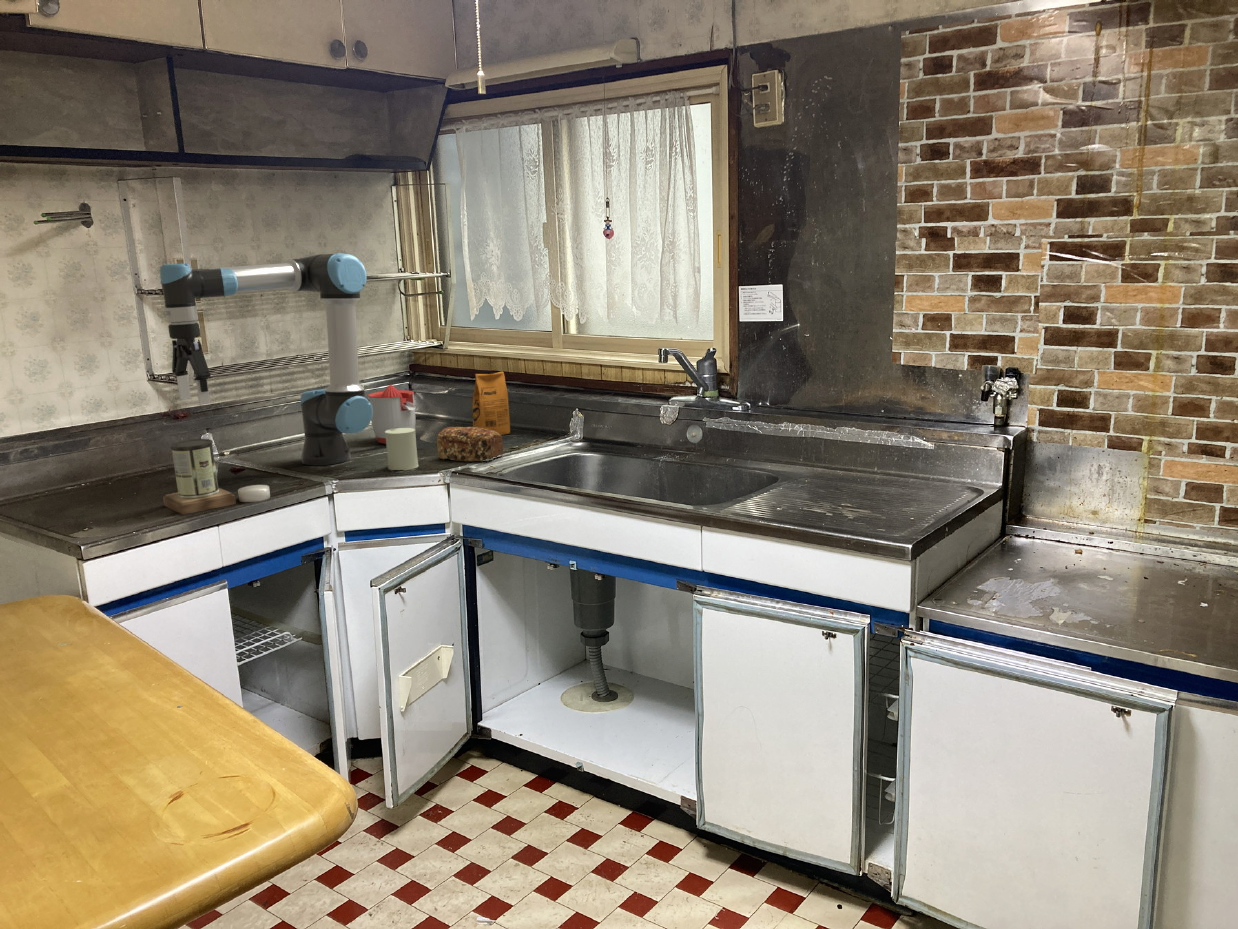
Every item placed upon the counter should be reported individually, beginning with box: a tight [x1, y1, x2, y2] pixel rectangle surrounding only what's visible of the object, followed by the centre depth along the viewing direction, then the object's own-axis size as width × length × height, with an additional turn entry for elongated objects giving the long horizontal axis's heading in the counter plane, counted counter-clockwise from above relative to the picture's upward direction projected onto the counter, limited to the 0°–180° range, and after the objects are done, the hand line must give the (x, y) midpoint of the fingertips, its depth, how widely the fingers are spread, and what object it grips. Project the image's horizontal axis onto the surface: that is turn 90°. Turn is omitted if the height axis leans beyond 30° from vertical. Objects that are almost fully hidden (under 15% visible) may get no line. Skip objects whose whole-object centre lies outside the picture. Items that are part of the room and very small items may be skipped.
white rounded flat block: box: [237, 484, 271, 503], centre depth 266 cm, size 8×8×3 cm
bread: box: [436, 426, 504, 462], centre depth 307 cm, size 19×11×10 cm, turn 68°
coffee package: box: [472, 371, 511, 436], centre depth 343 cm, size 10×12×22 cm
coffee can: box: [170, 438, 219, 499], centre depth 259 cm, size 10×10×14 cm
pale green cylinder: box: [385, 428, 420, 471], centre depth 297 cm, size 9×9×12 cm
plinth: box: [162, 487, 237, 516], centre depth 261 cm, size 14×14×3 cm
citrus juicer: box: [367, 384, 417, 445], centre depth 336 cm, size 16×17×20 cm
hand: (195, 401), depth 263 cm, fingers open, 13 cm apart
